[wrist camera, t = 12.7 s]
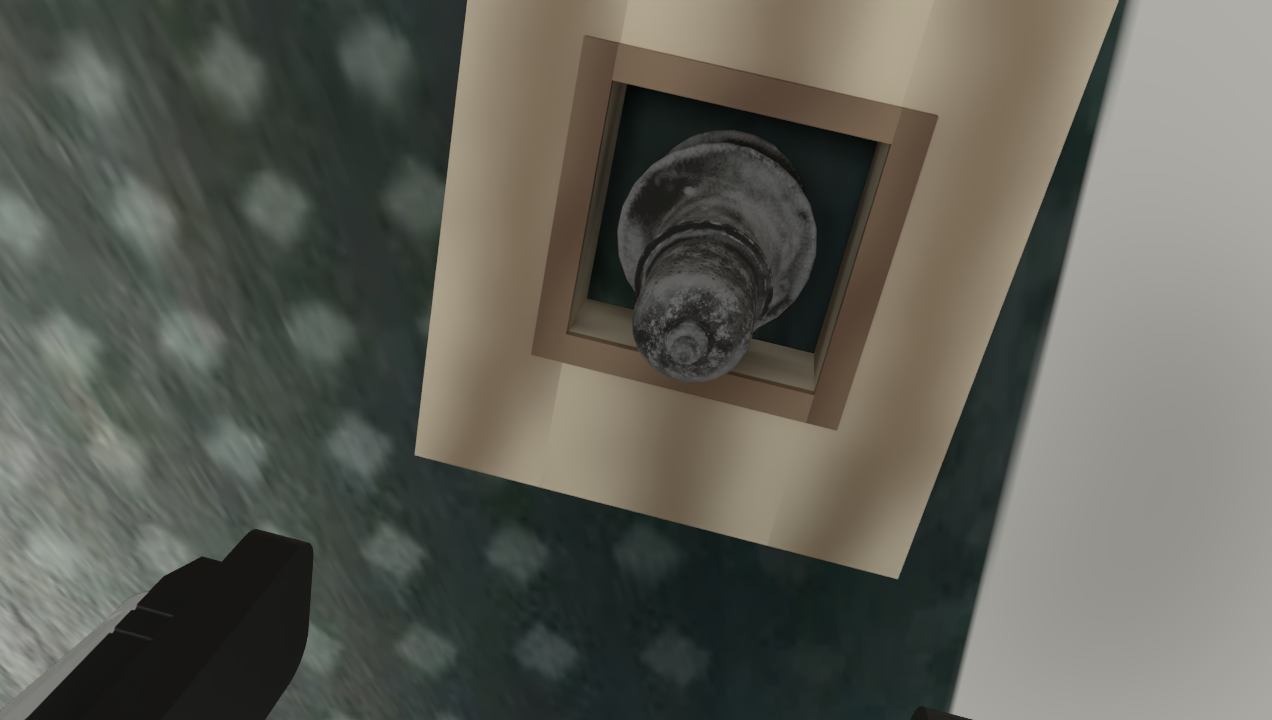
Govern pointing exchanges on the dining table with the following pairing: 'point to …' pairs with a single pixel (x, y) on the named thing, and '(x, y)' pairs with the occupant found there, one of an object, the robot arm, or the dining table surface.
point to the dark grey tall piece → (713, 250)
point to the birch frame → (768, 373)
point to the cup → (64, 666)
